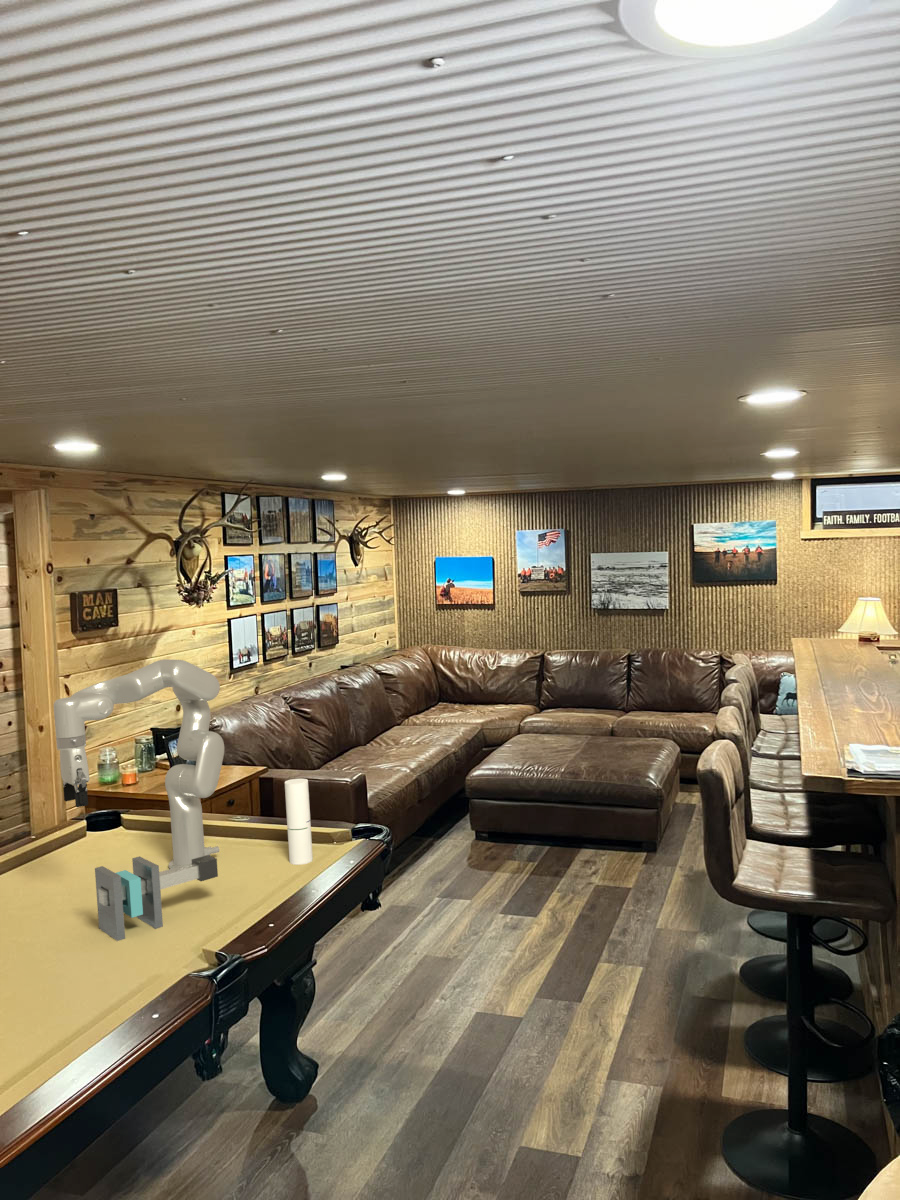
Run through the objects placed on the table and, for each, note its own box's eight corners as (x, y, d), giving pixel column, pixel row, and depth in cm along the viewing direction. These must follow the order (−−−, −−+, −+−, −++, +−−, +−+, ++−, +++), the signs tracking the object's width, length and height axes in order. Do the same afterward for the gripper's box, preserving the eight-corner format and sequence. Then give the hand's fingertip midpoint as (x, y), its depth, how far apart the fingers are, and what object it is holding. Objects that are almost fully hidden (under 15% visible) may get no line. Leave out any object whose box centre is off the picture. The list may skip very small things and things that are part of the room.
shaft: (209, 872, 257) (208, 854, 257) (217, 876, 253) (216, 858, 253) (98, 904, 236) (97, 885, 236) (105, 909, 233) (104, 889, 232)
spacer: (128, 905, 244) (125, 870, 243) (143, 914, 237) (140, 877, 236) (116, 908, 242) (114, 873, 241) (131, 917, 235) (129, 881, 234)
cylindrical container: (317, 858, 289) (312, 779, 288) (304, 865, 282) (299, 784, 281) (298, 856, 292) (293, 778, 291) (285, 863, 285) (279, 783, 284)
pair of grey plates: (143, 915, 248) (139, 856, 247) (162, 926, 239) (158, 865, 238) (99, 928, 240) (94, 868, 239) (117, 941, 231) (112, 878, 230)
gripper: (95, 743, 251) (100, 805, 252) (74, 736, 265) (79, 795, 265) (67, 748, 246) (72, 811, 247) (47, 741, 260) (52, 801, 261)
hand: (76, 803), depth 256 cm, fingers open, 9 cm apart
